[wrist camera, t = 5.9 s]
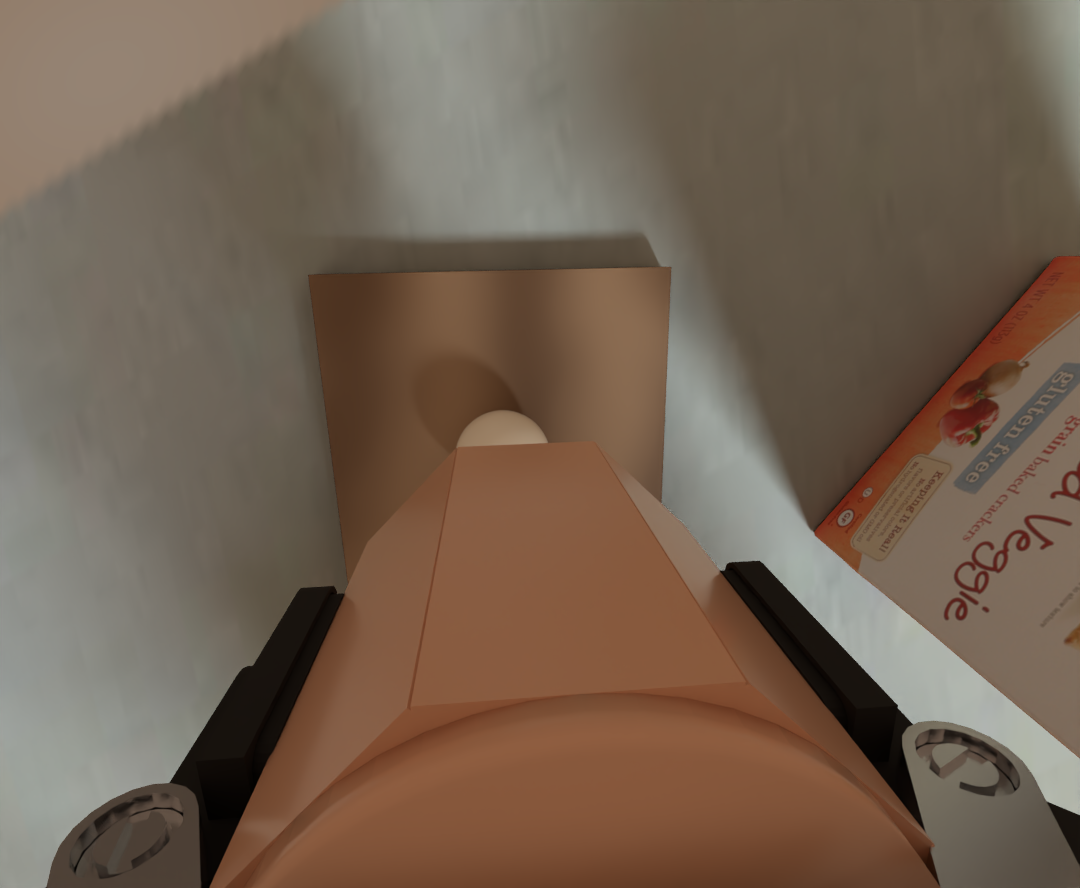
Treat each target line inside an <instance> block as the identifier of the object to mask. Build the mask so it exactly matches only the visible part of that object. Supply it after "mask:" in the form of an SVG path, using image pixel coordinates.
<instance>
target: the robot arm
mask: <svg viewBox="0 0 1080 888" xmlns="http://www.w3.org/2000/svg"><path fill="white" fill-rule="evenodd" d="M720 572H721V573H722V574H723V576H724V577H725V578H726V580H727V581H728V582H729V583H730V585H731V586H732V587H733V589H734V590H735V591H736V592H737V594H738V595H739V596H740V597H741V599H742V600H743V601H744V603H745V604H746V605H747V606H748V608H749V609H750V610H751V612H752V613H753V614H754V615H755V617H756V618H757V619H758V621H759V622H760V623H761V624H762V626H763V627H764V628H765V629H766V631H767V632H768V633H769V635H770V636H771V637H772V638H773V640H774V641H775V642H776V644H777V645H778V646H779V647H780V649H781V650H782V651H783V652H784V654H785V655H786V656H787V658H788V659H789V660H790V661H791V663H792V664H793V665H794V667H795V668H796V669H797V670H798V672H799V673H800V674H801V675H802V677H803V678H804V679H805V681H806V682H807V683H808V684H809V686H810V687H811V688H812V690H813V691H814V692H815V693H816V695H817V696H818V697H819V698H820V700H821V701H822V702H823V704H824V705H825V706H826V707H827V708H828V710H829V711H830V712H831V713H832V714H833V715H834V717H835V718H836V719H837V720H838V722H839V723H840V724H841V725H842V727H843V728H844V729H845V731H846V732H847V733H848V734H849V736H850V737H851V738H852V739H853V741H854V742H855V743H856V745H857V746H858V747H859V748H860V750H861V751H862V752H863V754H864V755H865V756H866V757H867V759H868V760H869V761H870V762H871V764H872V765H873V766H874V768H875V769H876V770H877V771H878V773H879V774H880V775H881V776H882V778H883V779H884V780H885V782H886V783H887V784H888V785H889V787H890V788H891V789H892V790H893V792H894V793H895V794H896V796H897V797H898V798H899V799H900V801H901V802H902V803H903V804H904V806H905V807H906V808H907V810H908V811H909V812H910V813H911V815H912V816H913V817H914V819H915V820H916V821H917V822H918V824H919V825H920V826H921V827H922V829H923V830H924V831H925V833H926V834H927V835H928V836H929V838H930V839H931V840H932V841H933V843H934V845H935V847H930V848H929V853H928V858H927V863H926V867H927V868H928V870H929V871H930V873H931V874H932V876H933V877H934V879H935V880H936V882H937V883H938V884H939V886H940V887H941V888H1080V815H1078V814H1075V813H1073V812H1071V811H1068V810H1066V809H1063V808H1061V807H1058V806H1056V805H1054V804H1051V803H1049V802H1046V800H1045V798H1044V796H1043V794H1042V792H1041V790H1040V788H1039V786H1038V784H1037V782H1036V780H1035V778H1034V776H1033V775H1032V773H1031V772H1030V771H1029V769H1028V768H1027V766H1026V765H1025V764H1024V762H1023V761H1022V760H1021V759H1020V758H1018V757H1017V756H1016V755H1015V754H1014V753H1013V752H1012V751H1010V750H1009V749H1008V748H1007V747H1005V746H1004V745H1002V744H1000V743H999V742H997V741H996V740H994V739H992V738H991V737H989V736H987V735H984V734H982V733H980V732H978V731H975V730H973V729H971V728H968V727H964V726H961V725H957V724H954V723H949V722H940V721H925V722H918V723H916V724H914V725H913V724H912V723H911V722H910V721H909V720H908V719H907V718H906V717H905V716H904V714H903V713H902V712H901V711H900V710H899V709H898V708H897V707H898V705H897V704H896V703H895V702H894V701H893V700H892V699H891V698H890V697H889V696H888V695H887V694H886V693H885V692H884V691H883V689H882V688H881V687H880V686H879V685H878V684H877V683H876V682H875V681H874V680H873V679H872V678H871V677H870V676H869V675H868V674H867V673H866V672H865V671H864V669H863V668H862V667H861V666H860V665H859V664H858V663H857V662H856V661H855V660H854V659H853V658H852V657H851V656H850V655H849V654H848V653H847V652H846V651H845V649H844V648H843V647H842V646H841V645H840V644H839V643H838V642H837V641H836V640H835V639H834V638H833V637H832V636H831V635H830V634H829V633H828V632H827V631H826V630H825V628H824V627H823V626H822V625H821V624H820V623H819V622H818V621H817V620H816V619H815V618H814V617H813V616H812V615H811V614H810V613H809V612H808V611H807V610H806V608H805V607H804V606H803V605H802V604H801V603H800V602H799V601H798V600H797V599H796V598H795V597H794V596H793V595H792V594H791V593H790V592H789V591H788V590H787V588H786V587H785V586H784V585H783V584H782V583H781V582H780V581H779V580H778V579H777V578H776V577H775V576H774V575H773V574H772V573H771V572H770V571H769V570H768V568H767V567H766V566H765V565H764V564H763V563H761V562H760V561H748V562H731V563H728V564H727V566H726V568H725V571H720ZM344 595H345V594H337V591H336V589H335V587H334V586H327V587H310V588H301V589H300V590H299V591H298V592H297V594H296V596H295V597H294V599H293V601H292V602H291V604H290V606H289V607H288V609H287V611H286V612H285V614H284V616H283V617H282V619H281V621H280V622H279V624H278V625H277V627H276V629H275V630H274V632H273V634H272V635H271V637H270V639H269V640H268V642H267V644H266V645H265V647H264V649H263V650H262V652H261V654H260V655H259V657H258V659H257V660H256V662H255V664H254V665H253V666H247V667H245V668H243V669H242V670H241V671H240V672H239V674H238V675H237V676H236V678H235V680H234V681H233V683H232V684H231V686H230V688H229V689H228V691H227V692H226V694H225V696H224V697H223V699H222V700H221V702H220V703H219V705H218V707H217V708H216V710H215V711H214V713H213V715H212V716H211V718H210V719H209V721H208V723H207V724H206V726H205V727H204V729H203V730H202V732H201V734H200V735H199V737H198V738H197V740H196V742H195V743H194V745H193V746H192V748H191V750H190V751H189V753H188V754H187V756H186V757H185V759H184V761H183V762H182V764H181V765H180V767H179V769H178V770H177V772H176V773H175V775H174V777H173V778H172V780H171V781H170V783H165V784H152V785H149V786H145V787H141V788H138V789H134V790H131V791H129V792H127V793H125V794H122V795H120V796H118V797H116V798H114V799H112V800H110V801H108V802H107V803H105V804H104V805H102V806H101V807H99V808H98V809H96V810H94V811H93V812H91V813H90V814H89V815H88V816H87V817H86V818H84V819H83V820H82V821H81V822H80V823H79V824H78V825H77V826H75V827H74V828H73V829H72V831H71V832H70V833H69V834H68V836H67V837H66V838H65V839H64V841H63V842H62V843H61V845H60V846H59V848H58V851H57V853H56V855H55V857H54V860H53V862H52V866H51V870H50V875H49V879H48V883H47V887H46V888H209V887H210V885H211V883H212V881H213V879H214V876H215V874H216V872H217V870H218V868H219V865H220V863H221V861H222V859H223V857H224V854H225V852H226V850H227V848H228V846H229V844H230V841H231V839H232V837H233V835H234V833H235V830H236V828H237V826H238V824H239V822H240V820H241V817H242V815H243V813H244V811H245V809H246V806H247V804H248V802H249V800H250V798H251V796H252V793H253V791H254V789H255V787H256V785H257V782H258V780H259V778H260V776H261V774H262V772H263V769H264V767H265V765H266V763H267V761H268V758H269V757H270V755H271V754H272V753H273V751H274V749H275V747H276V744H277V742H278V740H279V738H280V736H281V733H282V731H283V729H284V727H285V725H286V722H287V720H288V718H289V716H290V714H291V711H292V709H293V707H294V705H295V703H296V700H297V698H298V696H299V694H300V692H301V689H302V687H303V685H304V683H305V681H306V678H307V676H308V674H309V672H310V670H311V667H312V665H313V663H314V661H315V659H316V656H317V654H318V652H319V650H320V648H321V645H322V643H323V641H324V639H325V637H326V634H327V632H328V630H329V628H330V626H331V623H332V621H333V619H334V617H335V615H336V612H337V610H338V608H339V606H340V604H341V601H342V599H343V597H344Z"/></svg>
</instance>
